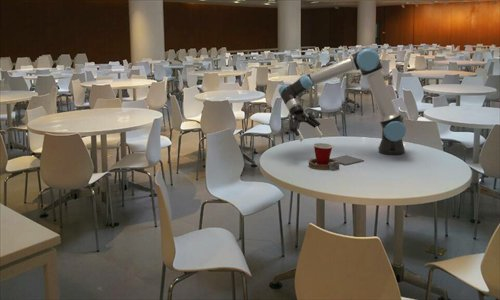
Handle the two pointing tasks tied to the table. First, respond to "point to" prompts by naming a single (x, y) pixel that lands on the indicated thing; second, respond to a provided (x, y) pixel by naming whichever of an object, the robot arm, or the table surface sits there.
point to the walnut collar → (331, 166)
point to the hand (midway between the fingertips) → (311, 138)
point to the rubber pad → (347, 160)
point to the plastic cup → (322, 153)
